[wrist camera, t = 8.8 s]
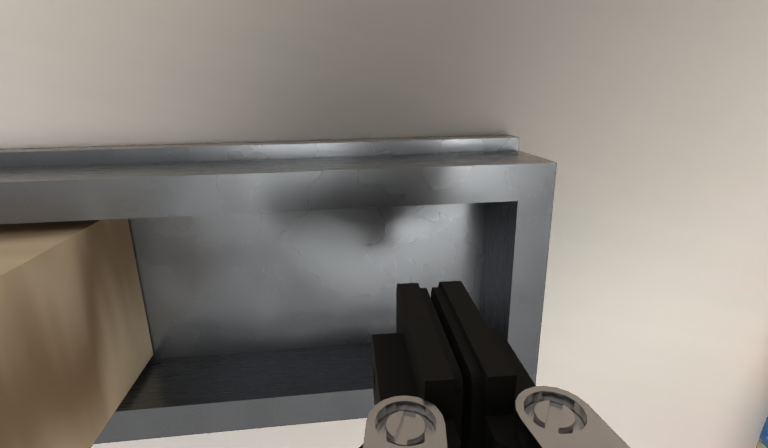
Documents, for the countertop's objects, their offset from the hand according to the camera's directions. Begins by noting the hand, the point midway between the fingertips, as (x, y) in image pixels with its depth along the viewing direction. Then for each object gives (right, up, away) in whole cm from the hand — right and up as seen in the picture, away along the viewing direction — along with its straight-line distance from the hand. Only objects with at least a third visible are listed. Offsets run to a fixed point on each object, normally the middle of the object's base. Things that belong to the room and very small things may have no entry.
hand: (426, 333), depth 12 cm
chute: (-9, +1, +6) cm, 11 cm away
